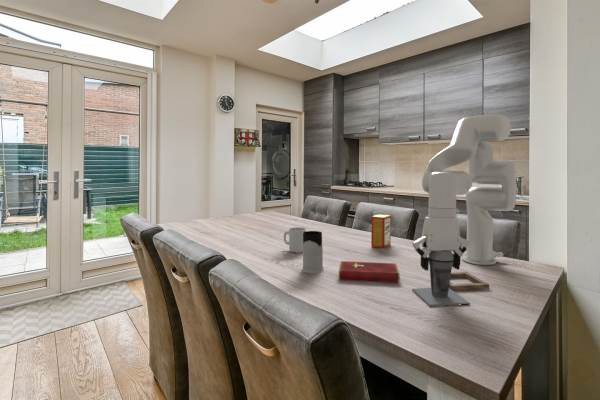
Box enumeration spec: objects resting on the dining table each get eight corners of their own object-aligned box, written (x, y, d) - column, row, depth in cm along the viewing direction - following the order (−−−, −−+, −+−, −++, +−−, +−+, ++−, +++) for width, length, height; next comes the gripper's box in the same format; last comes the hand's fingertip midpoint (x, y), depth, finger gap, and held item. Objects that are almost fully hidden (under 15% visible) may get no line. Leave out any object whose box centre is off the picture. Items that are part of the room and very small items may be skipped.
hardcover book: (399, 284, 107) (399, 272, 107) (338, 281, 112) (338, 269, 111) (395, 273, 119) (396, 262, 119) (341, 270, 123) (341, 260, 123)
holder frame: (466, 275, 114) (466, 271, 114) (489, 288, 101) (489, 284, 101) (433, 277, 113) (433, 273, 113) (452, 290, 100) (452, 286, 100)
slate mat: (447, 289, 102) (447, 287, 102) (469, 304, 90) (470, 302, 90) (412, 290, 101) (412, 288, 101) (429, 306, 89) (429, 304, 89)
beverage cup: (455, 300, 91) (458, 234, 89) (429, 299, 93) (431, 233, 91) (448, 291, 98) (451, 229, 96) (424, 289, 100) (426, 228, 98)
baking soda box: (378, 243, 166) (378, 213, 164) (390, 244, 162) (390, 214, 160) (371, 246, 158) (371, 215, 157) (383, 248, 154) (384, 216, 153)
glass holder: (298, 272, 121) (298, 234, 119) (310, 261, 134) (309, 227, 133) (320, 274, 118) (319, 235, 116) (329, 263, 131) (329, 228, 130)
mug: (309, 249, 155) (308, 227, 154) (302, 253, 147) (301, 231, 146) (288, 247, 160) (287, 226, 159) (280, 251, 152) (279, 229, 151)
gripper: (462, 210, 97) (460, 263, 99) (408, 212, 96) (407, 265, 98) (477, 214, 90) (475, 271, 91) (419, 215, 89) (418, 273, 90)
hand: (440, 268), depth 94 cm, fingers open, 9 cm apart
